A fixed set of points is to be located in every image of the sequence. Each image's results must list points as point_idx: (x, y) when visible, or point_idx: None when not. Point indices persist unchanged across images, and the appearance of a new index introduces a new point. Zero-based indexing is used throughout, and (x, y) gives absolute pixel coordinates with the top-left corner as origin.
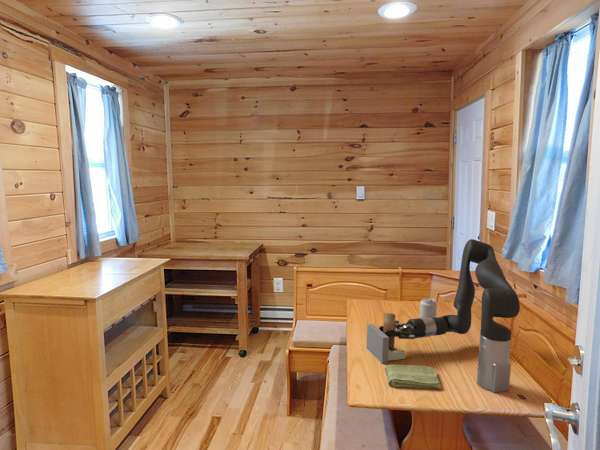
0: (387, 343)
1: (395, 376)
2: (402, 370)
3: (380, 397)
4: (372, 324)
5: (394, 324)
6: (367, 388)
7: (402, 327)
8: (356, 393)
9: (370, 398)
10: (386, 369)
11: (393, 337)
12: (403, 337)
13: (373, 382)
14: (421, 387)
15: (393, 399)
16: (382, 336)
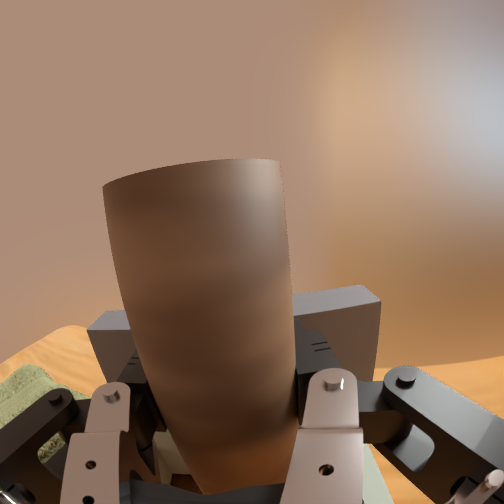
0: (104, 364)
1: (24, 372)
2: (22, 406)
3: (38, 350)
4: (365, 299)
5: (131, 326)
6: (74, 347)
7: (93, 474)
8: (79, 330)
9: (51, 339)
10: (76, 392)
11: (178, 449)
12: (54, 457)
13: (80, 363)
14: None
15: (15, 361)
16: (122, 312)
